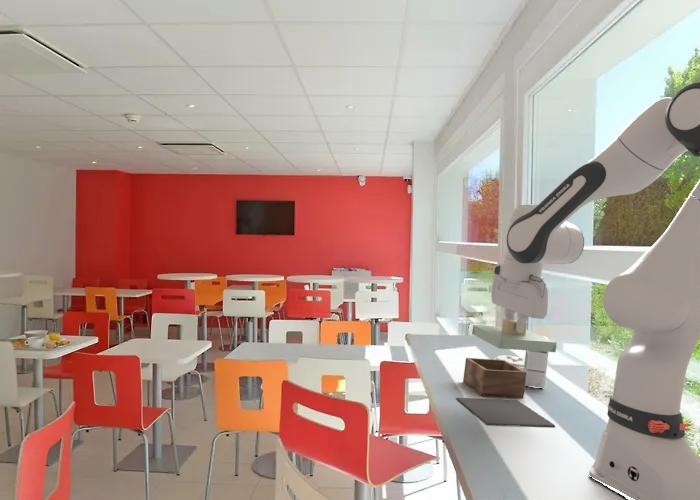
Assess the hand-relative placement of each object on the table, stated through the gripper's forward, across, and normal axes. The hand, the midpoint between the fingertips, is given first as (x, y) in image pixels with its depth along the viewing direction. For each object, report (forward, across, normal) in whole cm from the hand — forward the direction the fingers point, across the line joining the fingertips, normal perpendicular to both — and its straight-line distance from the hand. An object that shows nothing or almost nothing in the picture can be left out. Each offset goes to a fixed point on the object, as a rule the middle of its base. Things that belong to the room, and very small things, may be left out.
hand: (514, 329), depth 134 cm
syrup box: (+21, +23, -22) cm, 38 cm away
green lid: (+3, 0, 0) cm, 3 cm away
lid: (+21, +36, -23) cm, 48 cm away
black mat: (+20, 0, 0) cm, 20 cm away
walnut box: (+20, +17, -6) cm, 27 cm away
